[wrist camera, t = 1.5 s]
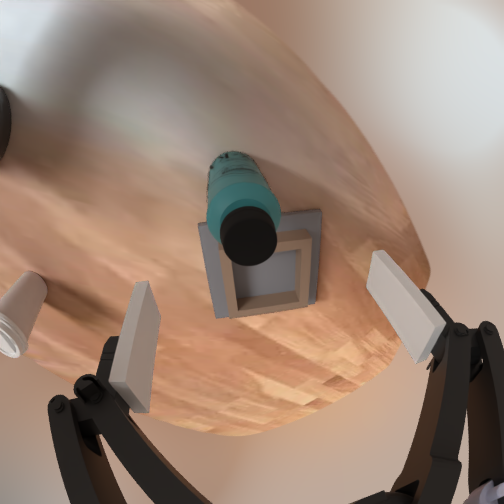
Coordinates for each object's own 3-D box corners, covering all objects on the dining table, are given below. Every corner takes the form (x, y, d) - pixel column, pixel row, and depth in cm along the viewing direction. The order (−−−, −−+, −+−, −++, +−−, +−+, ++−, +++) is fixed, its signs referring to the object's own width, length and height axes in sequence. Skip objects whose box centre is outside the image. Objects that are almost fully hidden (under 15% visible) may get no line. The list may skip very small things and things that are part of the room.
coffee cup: (57, 308, 44) (30, 367, 31) (21, 298, 41) (-9, 351, 28) (50, 269, 39) (13, 328, 26) (12, 259, 37) (-28, 312, 24)
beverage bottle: (262, 185, 38) (306, 267, 21) (216, 200, 38) (223, 294, 21) (248, 140, 34) (288, 187, 17) (199, 157, 34) (189, 220, 18)
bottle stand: (198, 223, 39) (197, 236, 36) (319, 209, 41) (329, 220, 37) (215, 314, 49) (216, 330, 45) (313, 300, 50) (320, 314, 47)
